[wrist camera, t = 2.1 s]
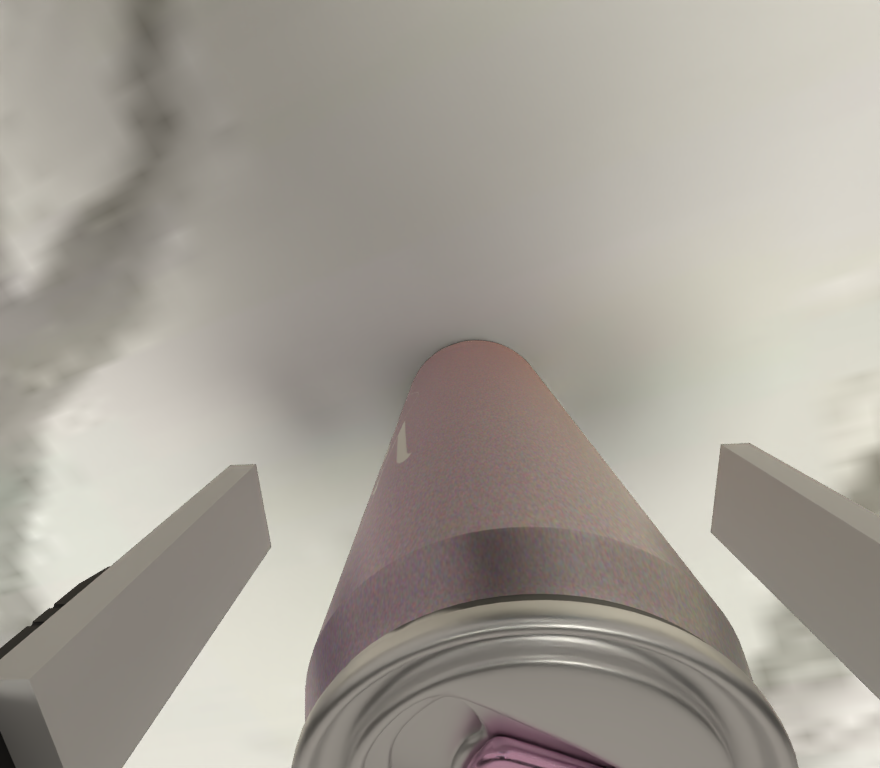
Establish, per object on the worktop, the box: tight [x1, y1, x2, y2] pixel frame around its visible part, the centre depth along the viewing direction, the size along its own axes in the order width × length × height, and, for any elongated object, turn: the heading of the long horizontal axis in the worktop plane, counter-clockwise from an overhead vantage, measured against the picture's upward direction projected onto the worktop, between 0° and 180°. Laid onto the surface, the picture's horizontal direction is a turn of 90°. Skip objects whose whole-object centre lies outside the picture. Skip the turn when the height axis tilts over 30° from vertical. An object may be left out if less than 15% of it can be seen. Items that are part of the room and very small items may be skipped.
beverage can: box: [291, 340, 799, 768], centre depth 12 cm, size 6×6×15 cm
